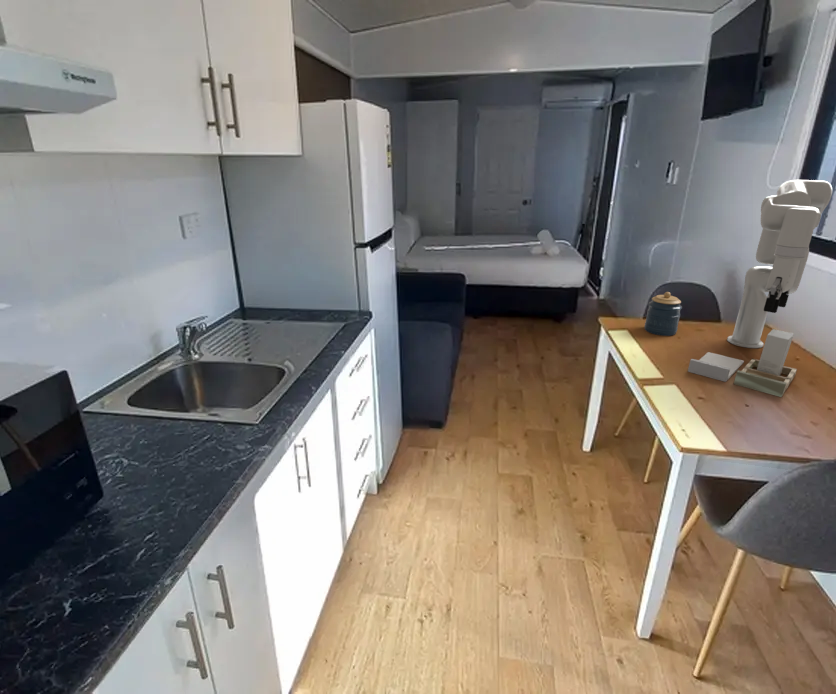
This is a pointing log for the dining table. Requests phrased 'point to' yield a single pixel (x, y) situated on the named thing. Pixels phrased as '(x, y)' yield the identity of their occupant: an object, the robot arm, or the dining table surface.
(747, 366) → the divided wooden tray
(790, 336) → the skincare box
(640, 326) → the dining table surface
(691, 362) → the grey sloped stand
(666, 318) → the canister
